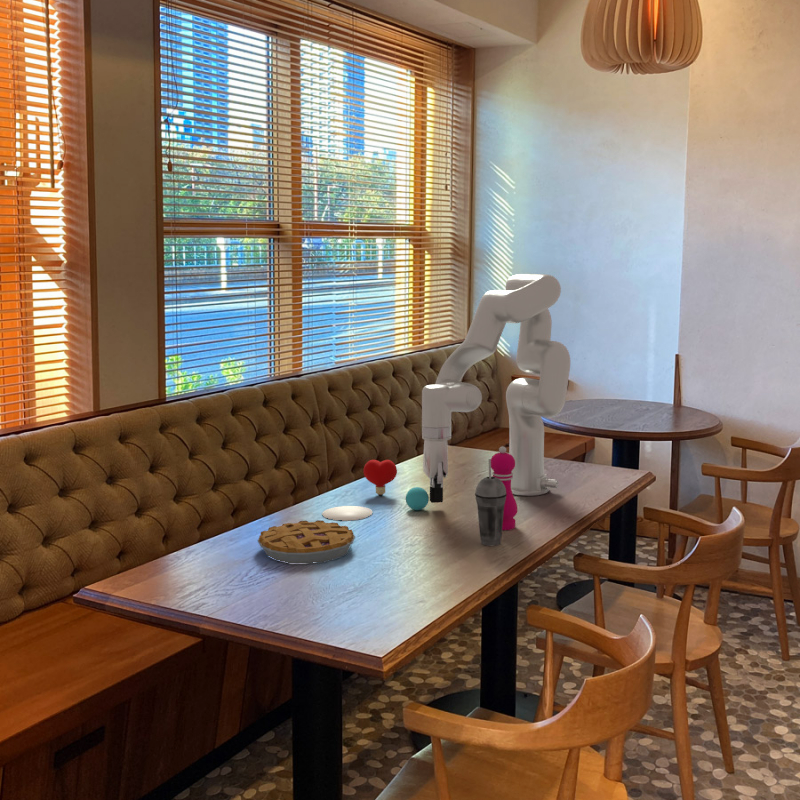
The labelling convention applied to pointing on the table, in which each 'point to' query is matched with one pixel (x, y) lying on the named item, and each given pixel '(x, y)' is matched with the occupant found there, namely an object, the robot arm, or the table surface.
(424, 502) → the ball
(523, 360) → the robot arm
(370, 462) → the light bulb
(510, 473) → the pepper mill
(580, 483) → the table surface
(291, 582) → the table surface
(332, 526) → the pie
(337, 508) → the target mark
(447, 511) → the table surface
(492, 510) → the beverage cup
